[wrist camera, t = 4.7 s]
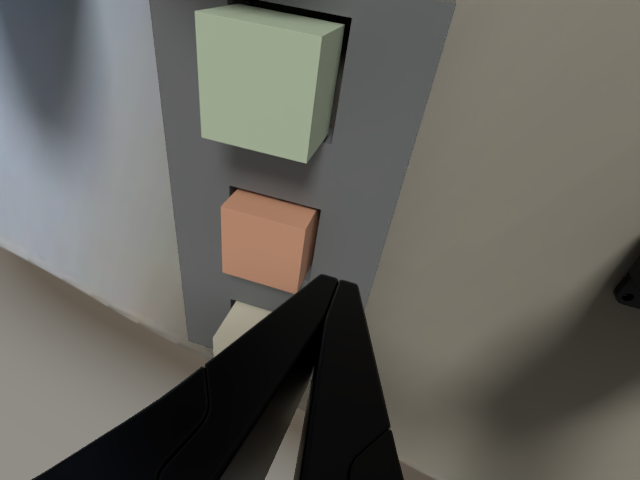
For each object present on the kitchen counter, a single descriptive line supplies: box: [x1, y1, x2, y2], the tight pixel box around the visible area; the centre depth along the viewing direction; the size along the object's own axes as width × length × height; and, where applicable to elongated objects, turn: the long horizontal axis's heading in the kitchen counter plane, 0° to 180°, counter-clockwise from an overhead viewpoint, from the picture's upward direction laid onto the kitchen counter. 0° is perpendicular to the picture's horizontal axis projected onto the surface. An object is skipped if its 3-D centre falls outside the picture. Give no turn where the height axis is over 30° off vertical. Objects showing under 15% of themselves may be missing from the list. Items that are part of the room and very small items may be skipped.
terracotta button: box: [221, 188, 321, 294], centre depth 21 cm, size 4×4×3 cm
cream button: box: [213, 301, 271, 357], centre depth 25 cm, size 4×4×3 cm
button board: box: [149, 0, 456, 381], centre depth 22 cm, size 12×24×2 cm, turn 171°
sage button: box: [195, 4, 345, 164], centre depth 15 cm, size 4×4×3 cm
